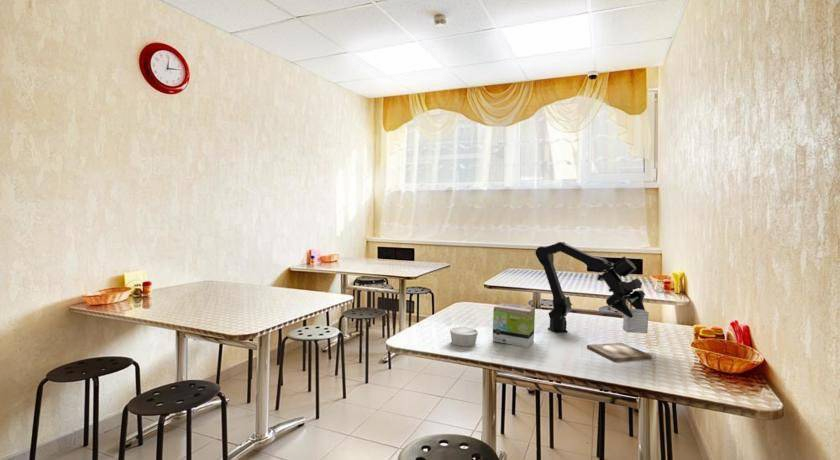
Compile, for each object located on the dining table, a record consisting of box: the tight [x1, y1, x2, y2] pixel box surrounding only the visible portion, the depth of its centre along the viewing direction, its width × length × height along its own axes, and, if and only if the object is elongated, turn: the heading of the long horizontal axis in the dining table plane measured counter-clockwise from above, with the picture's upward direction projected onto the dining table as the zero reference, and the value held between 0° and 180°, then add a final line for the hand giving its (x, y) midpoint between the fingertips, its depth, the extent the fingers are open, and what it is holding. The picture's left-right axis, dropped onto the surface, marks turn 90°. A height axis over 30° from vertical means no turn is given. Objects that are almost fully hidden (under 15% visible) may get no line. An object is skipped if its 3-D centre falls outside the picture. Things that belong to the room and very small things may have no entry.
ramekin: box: [449, 326, 479, 348], centre depth 172 cm, size 11×11×5 cm
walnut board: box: [586, 342, 653, 362], centre depth 163 cm, size 16×16×1 cm
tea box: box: [492, 302, 536, 349], centre depth 175 cm, size 15×10×15 cm, turn 62°
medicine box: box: [622, 308, 649, 334], centre depth 170 cm, size 8×4×9 cm, turn 86°
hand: (638, 316), depth 168 cm, fingers closed on medicine box, 9 cm apart
